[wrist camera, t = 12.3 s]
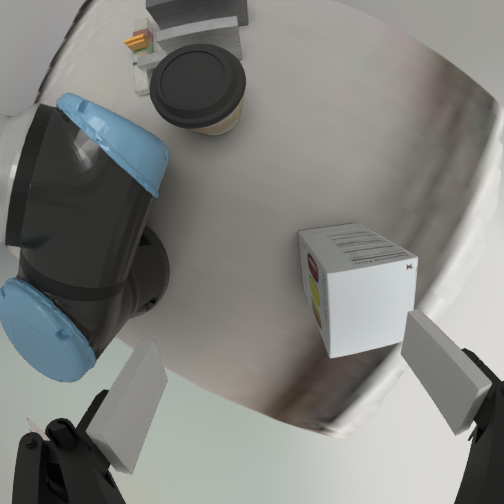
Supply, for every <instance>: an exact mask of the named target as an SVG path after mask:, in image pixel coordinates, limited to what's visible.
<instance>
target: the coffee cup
mask: <svg viewBox="0 0 504 504" xmlns="http://www.w3.org/2000/svg"><path fill="white" fill-rule="evenodd" d="M245 86H246V77H245V72H244V69H243V67H242V65H241V63H240V62H239V60H238V59H237V58H236V57H235V56H234V55H233V54H232V53H230V52H229V51H227V50H225V49H223V48H221V47H219V46H216V45H211V44H192V45H187V46H184V47H181V48H179V49H176V50H175V51H173V52H171V53H170V54H168V55H167V56H166V57H165V58H163V59H162V60H161V61H160V63H159V64H158V65H157V67H156V68H155V70H154V72H153V74H152V76H151V80H150V86H149V91H150V97H151V100H152V102H153V104H154V106H155V108H156V110H157V111H158V113H159V114H160V115H161V116H162V117H163V118H164V119H165V120H166V121H168V122H169V123H171V124H173V125H175V126H178V127H182V128H185V129H189V130H192V131H195V132H199V133H203V134H206V135H213V136H214V135H221V134H224V133H226V132H228V131H230V130H231V129H232V128H233V127H234V126H235V125H236V124H237V122H238V120H239V117H240V113H241V110H242V103H243V95H244V91H245Z"/></svg>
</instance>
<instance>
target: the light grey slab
mask: <svg viewBox="0 0 504 504" xmlns="http://www.w3.org/2000/svg"><path fill="white" fill-rule="evenodd" d="M156 38H157V43H158V44H159V45H160V46H161V48H162V49H163V50H162V51H158V52H155V53H151V54H147V55H144V56H141V57H137V67H138V68H139V69H140V70H142V71H145V70H149V69H152V68H156V67H157V65H158V64H159V63H160V61H161V60H162V59H163V58H165V57H166V56H167V55H168V54H170V53H171V52H173V51H175V50H176V49H179V48H181V47H184V46H187V45H192V44H211V45H216V46H219V47H221V48H223V49H225V50H227V51H229V52H230V53H232V54H233V55H234V56H235V57H236V58H237V59H238V60H239V59H242V53H241V45H240V37H239V29H238V22H237V16H233V17H225V18H218V19H211V20H206V21H200V22H195V23H190V24H185V25H181V26H176V27H172V28H168V29H164V30H160V31H157V32H156Z"/></svg>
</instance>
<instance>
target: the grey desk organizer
mask: <svg viewBox="0 0 504 504" xmlns="http://www.w3.org/2000/svg"><path fill="white" fill-rule="evenodd" d="M146 9H147V10H148V12H149V13H150V14H151V16H152V17H153V19H154V20H155V21H156V23H157V24H158V26H159V27H160V28H161V30H164V29H168V28H172V27H176V26H181V25H185V24H190V23H195V22H200V21H206V20H211V19H218V18H225V17H233V16H237V22H238V26H244V25H248V13H247V0H146ZM141 34H144V35H145V36H146V37H147V38H148V39H149V46H148V47H145V48H141V49H138V50H135V51H133V55H134V63H133V65H134V88H135V92H136V93H138V94H139V95H141V96H142V95H146V94H150V91H149V86H150V80H151V76H152V74H153V68H152V69H149V70H145V71H142V70H140V69H139V68H138V67H137V57H141V56H144V55H147V54H151V53H153V35H152V23H151V22H150V21H149V19H148V18H144V19H141V20H137V21H135V30H134V32H133V37H135V36H138V35H141Z"/></svg>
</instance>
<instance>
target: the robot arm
mask: <svg viewBox="0 0 504 504" xmlns="http://www.w3.org/2000/svg"><path fill="white" fill-rule="evenodd" d="M56 105H57V107H51V106H47V105H44V104H40V103H36V104H34V105H32V106H31V107H29V108H28V109H26V110H25V111H23V112H21V113H20V114H18V115H16V116H8V115H4V114H0V242H1V244H3V245H9V246H16V247H21V250H20V260H19V272H18V275H17V276H16V278H10V279H8V280H7V281H6V283H5V285H3V286H2V287H1V288H0V320H1V323H2V326H3V328H4V330H5V332H6V334H7V336H8V338H9V340H10V341H11V343H12V344H13V345H14V347H15V348H16V350H17V351H18V352H19V354H20V355H21V356H22V357H23V358H24V359H25V360H26V361H27V362H28V363H29V364H30V365H31V366H32V367H33V368H35V369H36V370H37V371H39V372H40V373H42V374H43V375H45V376H47V377H49V378H51V379H53V380H56V381H59V382H75V381H77V380H79V379H81V378H82V377H83V376H84V375H85V373H86V372H87V371H88V370H89V369H91V368H93V367H94V365H95V363H96V360H97V359H98V358H99V356H100V355H101V354H102V353H103V351H104V350H105V348H106V347H107V346H108V345H109V343H110V342H111V341H112V339H113V338H114V337H115V336H116V334H117V333H118V332H119V331H120V329H121V328H122V327H123V326H124V324H125V323H126V322H127V320H128V319H130V318H133V317H136V316H138V315H141V314H144V313H146V312H147V311H149V310H150V309H152V308H153V307H154V306H155V305H156V304H157V303H158V301H159V300H160V299H161V297H162V296H163V294H164V293H165V291H166V288H167V285H168V281H169V262H168V258H167V255H166V252H165V249H164V247H163V245H162V244H161V242H160V240H159V239H158V238H157V236H156V235H155V234H154V233H153V232H152V231H151V230H150V229H149V228H147V227H146V226H145V225H146V222H147V220H148V217H149V214H150V212H151V209H152V207H153V204H154V201H155V199H156V198H157V199H158V197H159V191H158V190H159V187H160V184H161V181H162V179H163V176H164V173H165V170H166V168H167V165H168V162H169V152H168V149H167V147H166V145H165V144H164V142H163V141H162V140H160V139H159V138H158V137H156V136H154V135H153V134H151V133H150V132H148V131H146V130H145V129H143V128H141V127H140V126H138V125H136V124H134V123H133V122H131V121H129V120H127V119H125V118H123V117H121V116H120V115H118V114H116V113H114V112H112V111H110V110H108V109H106V108H104V107H101V106H99V105H97V104H94V103H92V102H90V101H88V100H85V99H83V98H82V97H80V96H77V95H75V94H72V93H65V94H63V95H62V96H61V98H60V99H58V100H57V102H56ZM401 355H402V356H403V358H404V359H405V361H406V362H407V363H408V365H409V366H410V368H411V369H412V371H413V372H414V373H415V375H416V376H417V378H418V379H419V380H420V382H421V384H422V385H423V386H424V388H425V389H426V391H427V392H428V394H429V395H430V397H431V398H432V400H433V401H434V403H435V404H436V406H437V407H438V409H439V411H440V412H441V413H442V415H443V417H444V418H445V420H446V421H447V423H448V425H449V426H450V428H451V429H452V431H453V432H454V434H455V435H458V434H460V433H462V432H463V431H466V430H468V429H469V427H470V426H471V424H472V422H473V420H474V421H475V422H476V424H477V425H476V427H475V429H474V430H473V432H472V434H471V435H470V437H469V439H468V441H470V440H471V438H472V437H473V439H472V444H471V448H470V453H469V457H468V461H467V465H466V468H465V472H464V475H463V479H462V482H461V485H460V488H459V491H458V494H457V497H456V500H455V502H454V504H504V381H501V380H499V378H498V377H497V376H496V375H495V374H494V373H493V372H492V371H491V370H490V369H489V368H488V367H487V366H486V365H484V363H483V362H482V361H481V360H479V358H478V357H477V356H476V355H475V354H474V353H473V352H471V351H469V350H467V349H466V348H464V349H460V348H459V347H458V346H457V345H456V344H455V343H454V342H453V341H452V340H451V339H450V338H449V337H448V336H447V335H446V334H445V333H444V332H443V331H441V329H440V328H439V327H438V326H437V325H436V324H435V323H434V322H432V321H431V320H430V319H429V318H428V317H427V316H426V315H425V314H424V313H423V312H422V311H421V310H420V309H417V310H413V311H408V313H407V320H406V327H405V333H404V339H403V345H402V350H401ZM167 381H168V379H167V376H166V373H165V370H164V367H163V364H162V361H161V358H160V355H159V352H158V349H157V346H156V343H155V340H154V339H141V341H140V342H139V344H138V345H137V347H136V349H135V350H134V352H133V353H132V355H131V357H130V358H129V360H128V361H127V363H126V365H125V366H124V368H123V369H122V371H121V373H120V374H119V376H118V377H117V379H116V381H115V382H114V384H113V386H112V387H111V389H110V390H103V391H101V392H100V393H99V394H98V395H96V397H95V398H94V400H93V402H92V403H91V405H90V406H89V408H88V411H86V413H85V414H84V416H83V418H82V419H81V421H80V422H79V424H78V426H77V427H76V429H75V427H74V426H73V424H72V423H71V421H69V420H68V419H64V418H59V419H55V420H53V421H51V422H50V423H49V424H48V425H47V427H46V429H45V434H46V436H47V437H48V438H49V439H50V441H45V440H43V438H42V437H41V436H40V434H38V433H36V432H30V433H27V434H26V435H24V436H23V437H22V438H21V440H20V442H19V447H18V453H17V459H16V466H15V474H14V483H13V494H12V504H126V503H125V501H124V499H123V497H122V495H121V493H120V491H119V489H118V487H117V485H116V483H115V481H114V479H113V477H112V475H111V473H110V472H109V470H108V468H109V466H110V464H111V465H112V466H113V468H114V469H115V470H116V471H119V472H123V473H127V474H132V473H133V471H134V468H135V465H136V463H137V460H138V457H139V454H140V452H141V449H142V446H143V443H144V441H145V438H146V435H147V433H148V430H149V427H150V425H151V422H152V419H153V417H154V414H155V411H156V409H157V406H158V404H159V401H160V399H161V396H162V394H163V391H164V389H165V386H166V383H167Z"/></svg>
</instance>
